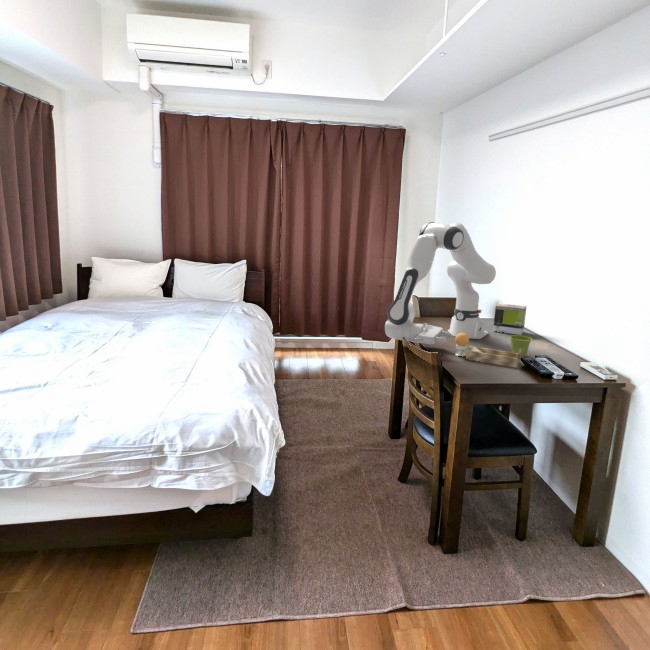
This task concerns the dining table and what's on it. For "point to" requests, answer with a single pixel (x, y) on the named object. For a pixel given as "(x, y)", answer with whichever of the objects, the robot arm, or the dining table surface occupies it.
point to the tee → (460, 350)
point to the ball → (462, 339)
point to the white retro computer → (509, 318)
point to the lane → (494, 356)
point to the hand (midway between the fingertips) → (448, 337)
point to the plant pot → (520, 344)
